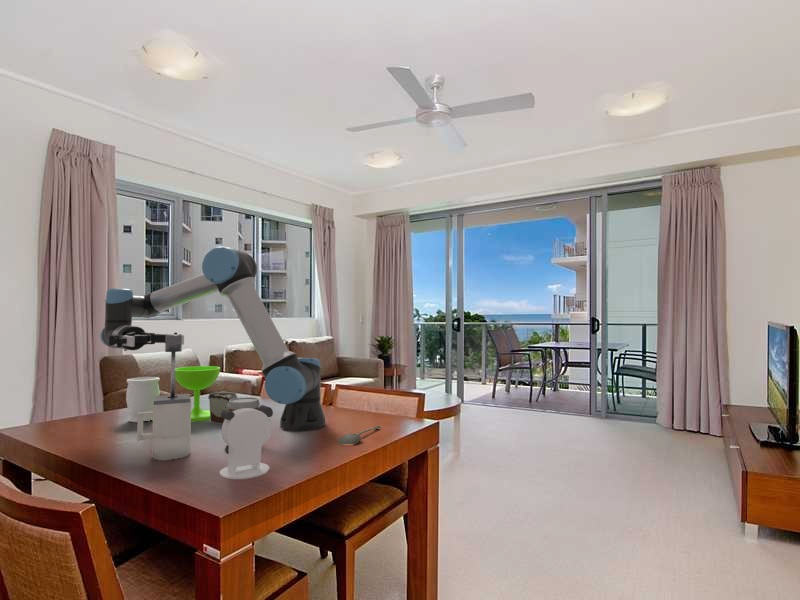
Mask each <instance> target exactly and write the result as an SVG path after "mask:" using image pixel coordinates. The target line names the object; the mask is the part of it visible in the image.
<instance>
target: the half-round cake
mask: <svg viewBox="0 0 800 600" xmlns="http://www.w3.org/2000/svg"><path fill="white" fill-rule="evenodd" d="M208 394H209V395H208V400H209V411H210V420H209V422H210V423H214V424H218V423H219V425H223V422H224V420H225V419H224V418H222V417H221V413H222V411H223V410H229V408H228V406H227V405H228V403H229V400H231V399H235V398H238V395H237V393H236V392H230V391H221V392H220V391H219V392H210V393H208Z"/></svg>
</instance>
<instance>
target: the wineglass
mask: <svg viewBox="0 0 800 600" xmlns="http://www.w3.org/2000/svg"><path fill="white" fill-rule="evenodd" d="M220 371H221V367H220V366H210V365H207V366H206V365H199V366H182V367H178V368H177V367H175V381H176V382H177V383H178V384H179V385H180V386H181V387H183V388H184V389H187V390H190V391H193V408H192V409H191V423H196V422H195V421H199V422H206V420H207V421H210V409H209V410H208V409H207V410H202V408H201V406H200V403H201V402H200V397H201V396H200V393H201V390H204V389H207V388H209V387H210V386H212V385H213V384H214V383H215V382H216V380H217V379H218V377H219V375H220Z"/></svg>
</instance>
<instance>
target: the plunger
mask: <svg viewBox="0 0 800 600" xmlns="http://www.w3.org/2000/svg"><path fill="white" fill-rule="evenodd" d="M164 344H165V345H164V352H166V353H171V354H170V355H171V356H170V363H171V364H170V395H171V398H175V395H176V394H175V393H176V389H175V388H176V378H175V369H176V353H178V352H182V351H183V350H182V349H183V348H182V347H183V346H182V334H181V335H179V334H177V335H174V334H170V335H165V343H164Z"/></svg>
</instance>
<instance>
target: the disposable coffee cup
mask: <svg viewBox="0 0 800 600" xmlns="http://www.w3.org/2000/svg"><path fill="white" fill-rule="evenodd" d="M227 406H228V408H229V411H235V410H238V409H242V408H252V409H256V410H258V408H259V407H260V406H261V402H260V400H259V398H258V397H248V396H247V397H237V398H235V399H231V400H229V403H228V405H227Z"/></svg>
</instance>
